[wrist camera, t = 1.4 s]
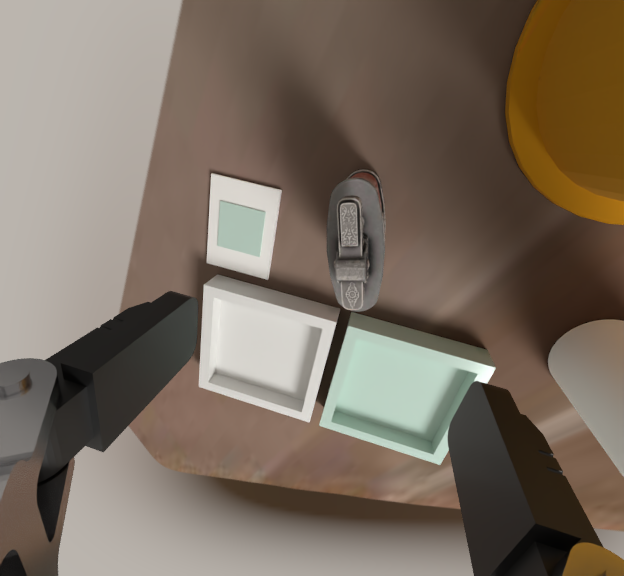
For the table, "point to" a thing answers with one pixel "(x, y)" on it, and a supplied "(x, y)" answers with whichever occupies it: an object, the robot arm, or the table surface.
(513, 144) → the spool
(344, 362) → the green tray
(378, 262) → the lighter
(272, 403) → the white tray
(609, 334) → the cylindrical container
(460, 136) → the table surface
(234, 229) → the card
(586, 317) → the table surface
